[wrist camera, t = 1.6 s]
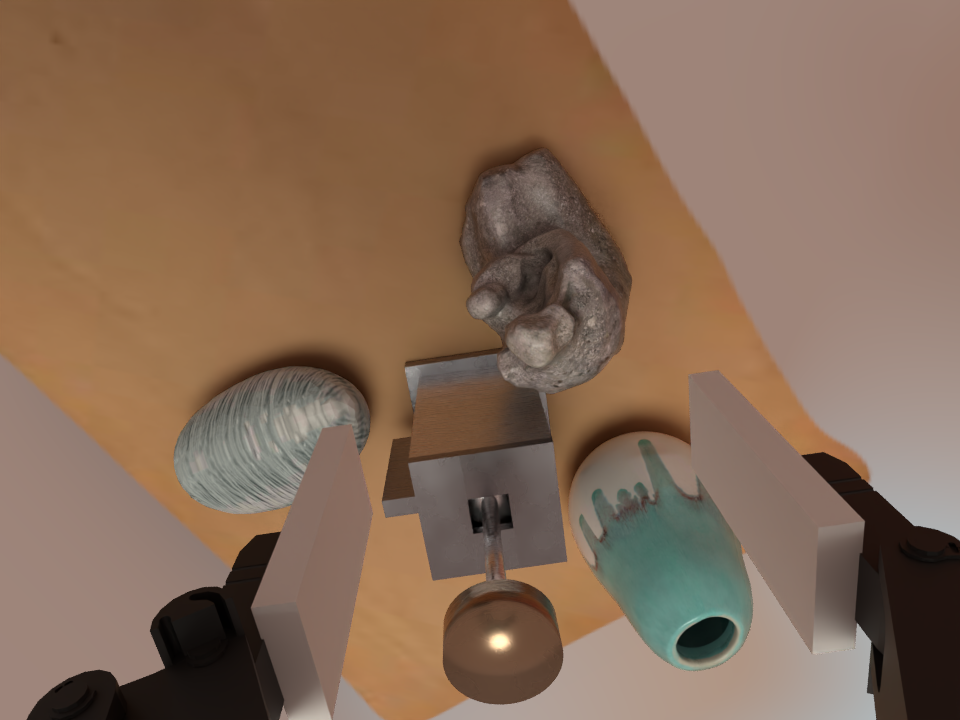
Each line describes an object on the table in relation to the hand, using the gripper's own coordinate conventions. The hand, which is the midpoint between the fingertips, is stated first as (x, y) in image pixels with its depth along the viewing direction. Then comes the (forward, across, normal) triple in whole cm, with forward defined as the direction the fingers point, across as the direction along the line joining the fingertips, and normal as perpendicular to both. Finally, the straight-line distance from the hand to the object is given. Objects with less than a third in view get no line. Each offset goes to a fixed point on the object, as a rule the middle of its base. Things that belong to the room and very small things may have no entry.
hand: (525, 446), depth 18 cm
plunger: (+20, -2, -14) cm, 24 cm away
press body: (+31, -2, -14) cm, 34 cm away
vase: (+32, +9, -22) cm, 39 cm away
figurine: (+32, +3, -2) cm, 32 cm away
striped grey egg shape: (+32, -17, -12) cm, 38 cm away
